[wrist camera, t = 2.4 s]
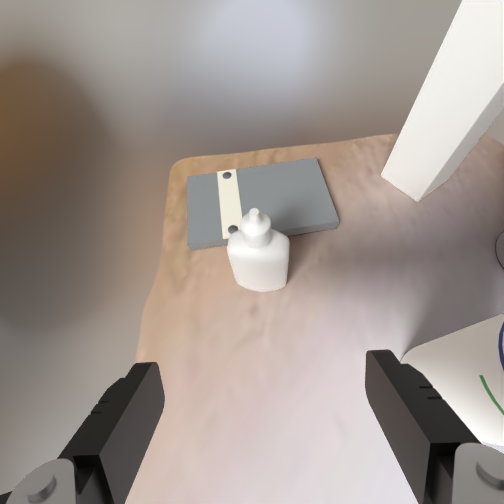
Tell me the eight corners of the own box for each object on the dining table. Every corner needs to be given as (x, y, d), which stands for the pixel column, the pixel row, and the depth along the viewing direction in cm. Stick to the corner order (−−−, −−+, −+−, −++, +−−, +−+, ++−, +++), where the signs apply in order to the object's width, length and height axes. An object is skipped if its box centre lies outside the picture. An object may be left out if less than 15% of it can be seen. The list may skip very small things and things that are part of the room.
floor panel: (314, 165, 37) (316, 156, 36) (336, 228, 32) (339, 220, 31) (190, 184, 38) (186, 176, 36) (191, 250, 32) (187, 243, 31)
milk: (416, 203, 33) (612, -68, 14) (379, 176, 36) (498, -83, 16) (448, 180, 34) (666, -96, 15) (409, 155, 37) (553, -106, 18)
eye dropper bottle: (252, 251, 31) (241, 178, 21) (293, 275, 29) (303, 207, 19) (230, 280, 30) (206, 215, 19) (271, 307, 28) (269, 252, 17)
